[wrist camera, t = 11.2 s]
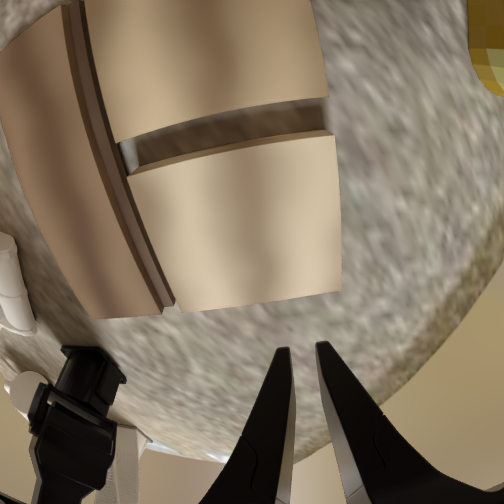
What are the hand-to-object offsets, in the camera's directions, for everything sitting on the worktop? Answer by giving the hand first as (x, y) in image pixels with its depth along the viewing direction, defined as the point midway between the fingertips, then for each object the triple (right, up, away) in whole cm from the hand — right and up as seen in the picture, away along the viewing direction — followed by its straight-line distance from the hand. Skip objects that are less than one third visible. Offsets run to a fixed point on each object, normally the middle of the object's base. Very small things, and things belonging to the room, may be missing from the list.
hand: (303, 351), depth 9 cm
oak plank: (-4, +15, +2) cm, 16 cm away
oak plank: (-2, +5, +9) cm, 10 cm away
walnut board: (-14, +8, +7) cm, 17 cm away
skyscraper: (-24, -29, +31) cm, 49 cm away
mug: (-38, -19, +25) cm, 49 cm away
